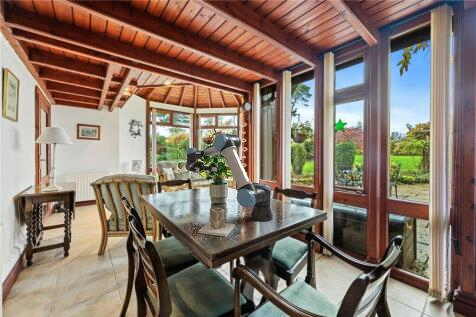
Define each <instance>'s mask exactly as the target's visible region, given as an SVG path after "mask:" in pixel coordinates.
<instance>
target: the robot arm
mask: <svg viewBox="0 0 476 317" xmlns="http://www.w3.org/2000/svg"><path fill="white" fill-rule="evenodd" d="M241 145H242V140H241V138H240V137H239V135H236V134H231V133H224V132H220V133H217V134H216V135H215V136H214V139H213V146H210V147H208V148H206V150H205V149H203V150H201V149H200V150H199V149H197V148H196V147H188V148H187V149H186V163H185V164H184V165H185V166H184V168H185V170H186V171H187V172H190V173H191V172H192V173H194V174H195V173H197V174H199V173H201V172H203V171H212V172H217V171H218V168H217V167H216V166H214V165H213V166H206V165H202V164H201V163H199V162H197V160H202V159H201V158H202V157H203V154H204V153H205V155H206V156H212V157H214V156H218V155H221V156H224V158H225V161H226V163H227V165H228V167H229V170H230V172H231V175H232V177H233V179H234V181H235V183H236V186H237V188H236V191H237V193H236V201H237V203H238V204H239V206H241V207H243V208H252V210H251V212H250V219H251V220H254V221H257V222H269V220H270V221H272V220H273V219H274V217H273V212H272V208H271V200H272V199H271V196H272V190H271V186H270V185H269V184H268V185H267V184H259V183H258V184H257V183H254V182H252V181H250V178H249V176H248V174H247V172H246V170H245V168H244V166H243V163H242V162H241V160H240V157H239V155H238V153H237V150H238V149H240V147H241ZM204 151H205V152H204ZM200 155H201V156H200Z"/></svg>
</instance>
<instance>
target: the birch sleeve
mask: <svg viewBox="0 0 476 317" xmlns="http://www.w3.org/2000/svg"><path fill="white" fill-rule="evenodd" d="M210 221H211V227H212V228H214V229H215V230H216V229H221V228H225V223H226V210H225V209H224V208H221V207H219V208H218V207H216V208H211V209H210Z"/></svg>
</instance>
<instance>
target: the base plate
mask: <svg viewBox="0 0 476 317" xmlns="http://www.w3.org/2000/svg"><path fill="white" fill-rule="evenodd" d="M235 227H236V224H235V223H226V222H225V228H221V229H216V230H215V229H214V228H212V227H211V220H210V221H209V222H208V223H206V224H205V225H204V226H202V227H201V228H200V229H198V234H204V235H209V236H219V237H226V238H227V236H228V235H229V234H230V233H231V232H232V231H233V230H234V229H235Z"/></svg>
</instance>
